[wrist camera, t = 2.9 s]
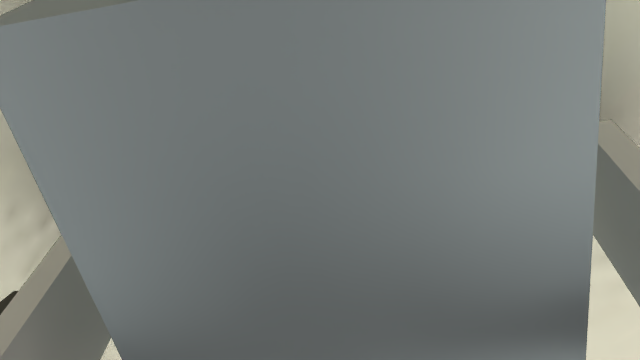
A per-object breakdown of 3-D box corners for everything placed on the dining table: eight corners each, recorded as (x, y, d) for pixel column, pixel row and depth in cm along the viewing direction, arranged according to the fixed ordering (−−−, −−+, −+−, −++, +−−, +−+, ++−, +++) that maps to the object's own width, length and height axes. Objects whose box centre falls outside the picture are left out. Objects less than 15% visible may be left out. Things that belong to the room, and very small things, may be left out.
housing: (131, -46, 15) (-36, 32, 9) (488, -116, 14) (611, -87, 7) (256, 344, 22) (216, 555, 15) (504, 319, 21) (576, 536, 14)
